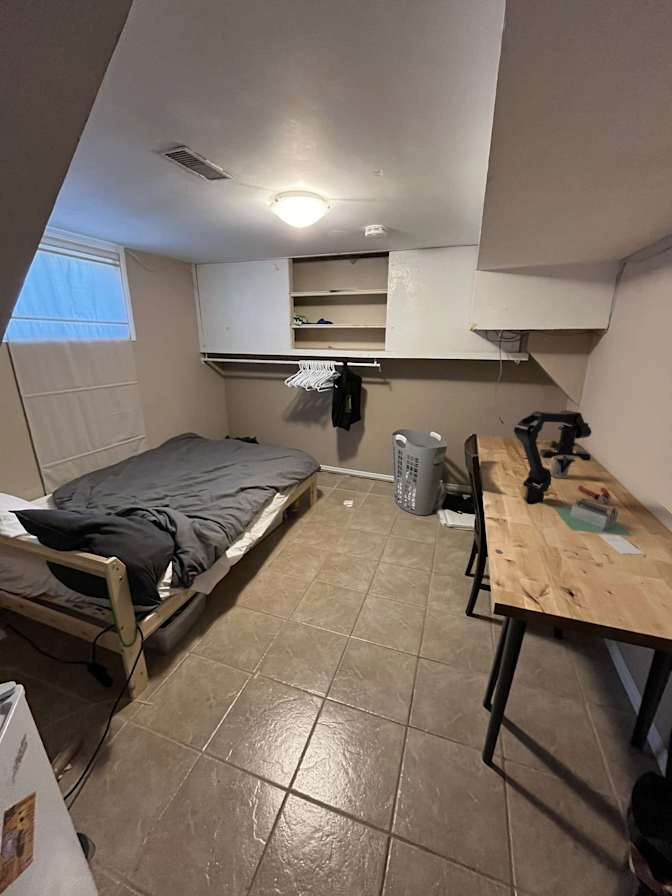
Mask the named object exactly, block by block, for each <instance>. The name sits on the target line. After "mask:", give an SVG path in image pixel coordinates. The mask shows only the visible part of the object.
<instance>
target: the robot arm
mask: <svg viewBox="0 0 672 896" xmlns="http://www.w3.org/2000/svg"><path fill="white" fill-rule="evenodd" d="M535 421H536V422H537V423H536V424H535V425H534V424H533V423H535ZM545 422H546V423H547V422H549V423H562V425H560V426H559V427H558V428H557V430H560V436H559V439H558V440H559V441H558V440H557V441H556V440H550V444H549V449H548V448H541V450H540V451H539V448H538V445H537V439H538V437H539V433H540V432H541V431H542V430H543V427H544V426H543V425H544V424H545ZM513 433H514V435H515V436H516V438H517V440H518V441H519V442H521V443H522V446H523V449H524V453H525V455H526V459H527V462H528V466H529V468H530V470H529V471H528V474H527V475H528V476H527V477H526V478H525V479H524V480H523V482H522V483H523V487H525V489H526V490H525V494H524V496H523V499H524V501H525V502H526V504H529V505H530V504H531V505H537V504H538V503H541V502H544V499H545V493H546V492H548V491H549V488H550V486H551V483H552V476H551V474H550V473H551V469H549V468H546V467H544V466H543V462H542V459H553V457H554V458H555V459H556V460H557V462H558V465H559V469H560V473H563V472H564V471H565V470H566V468H567V467H568V466H569V465H571V464H572V463H573V462H576V459H575V458H578V459H579V458H580V460H581V461H584V462H585V461H587V462H590V461H591V458H592V456H591V454H590V453H589V452H588V451H586V450H585V451H584V450H577V451H576V452H574V447H575V446H576V443H575V441H576V439H584V438H585V439H586V438H589V437H590V436H591V435H592V428H591V427H590V426H589V423H588V422H585V420H584V419H583V416H582V413H581V412H577V411H573V410H567V409H566V410H561V411H559V412H550V411H545V412H544V411H539V410H536V411H534V412H532V413H531V414H530V415H528V416H526V417H524V418H522V419H521V420H520V421H519V422H518V423H516V425H515V426H514V428H513ZM552 449H553V450H552ZM555 450H556V451H558V452H555ZM561 454H563V455H561ZM541 457H542V459H541ZM563 457H564V459H563ZM569 467H570V466H569Z"/></svg>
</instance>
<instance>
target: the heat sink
mask: <svg viewBox="0 0 672 896" xmlns="http://www.w3.org/2000/svg"><path fill="white" fill-rule="evenodd" d="M586 499H587V498H584V497H582V498H581V499H580V500H585V501H588V502H591V503H594V504H597V505H600V506H603V507H606V508H609V509H612V510H614V511H613V513H611V512H612V510H607V513H606V512H603V511H600V510H597V509H594V508H591V507H588V506H586V505H583V504H580V500H575V502H574V504H575V505H574V504H573V505H572V506H571V509H572V510H571V515H569V519H571V520H574V521H576V522H579V523H582V524H584V525H587V526H590V527H592V528H595V529H598V530H600V531H604V530H606V529H607V528H609V527H611V526H613V525H615V524H616V523H618V517H619V513H620V511H619V510H618V508H619V507H618V506H613V508H611V507H608V506H605V505H603V504H598V503H596V502H592V501H590V500H586Z"/></svg>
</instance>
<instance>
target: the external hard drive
mask: <svg viewBox="0 0 672 896" xmlns="http://www.w3.org/2000/svg"><path fill="white" fill-rule="evenodd" d="M598 536H599V537H600V538H602V539H603V540H604V541H605V542H606V543H608V544H609V545H610V546H611V547H612V548H614V549H615V550H616V551H617V552H619V553H620V554H622V555H644V556H643V558H646V556H647V554H646V553H644V552H643V551H642V550H640V549H639V548H637V547H636V546H635V545H633V544H632V543H631V542H629V541H627V540H626V539H625V538H623V537H622V535H615V534H599V535H598Z"/></svg>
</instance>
